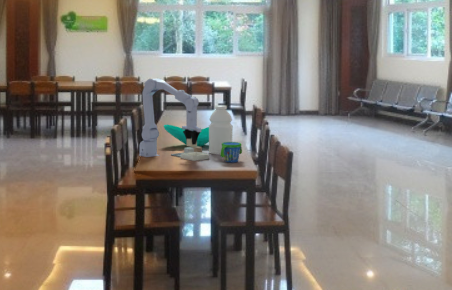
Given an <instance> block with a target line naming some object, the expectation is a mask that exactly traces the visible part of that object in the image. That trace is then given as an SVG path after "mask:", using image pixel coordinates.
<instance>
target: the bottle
mask: <svg viewBox="0 0 452 290" xmlns="http://www.w3.org/2000/svg"><path fill="white" fill-rule="evenodd" d="M227 108H228V107H227V105H220V104H219V105H215V107H214V109H215V110H214V111H213V112H212V113H211V115H210V118H209V121H210V124H209V125H208V127H209V142H208V154H210V155H221V149H222V143H224V142H233V128H234V127H233V125H232V124H231V122H233V118H232V115H231V114H230V113H229V111H228V110H227Z"/></svg>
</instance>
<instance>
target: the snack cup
mask: <svg viewBox="0 0 452 290" xmlns="http://www.w3.org/2000/svg"><path fill="white" fill-rule="evenodd" d="M241 154H243V147H242V143H241V142H238V141H232V142H224V143H222V149H221V154H220V157H221V158H223V159H224V162H226V163H229V164H230V163H238V162H239V158H240V155H241Z"/></svg>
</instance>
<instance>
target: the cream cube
mask: <svg viewBox="0 0 452 290" xmlns="http://www.w3.org/2000/svg"><path fill="white" fill-rule="evenodd" d="M194 146H197V142H196V144H192V138H189V139H187V145H186V147H191V148H192V147H194Z"/></svg>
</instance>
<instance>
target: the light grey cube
mask: <svg viewBox="0 0 452 290" xmlns="http://www.w3.org/2000/svg"><path fill="white" fill-rule="evenodd" d="M190 152H194V148H192V147H190V146H186V147H184V148H183V153H190Z"/></svg>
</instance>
